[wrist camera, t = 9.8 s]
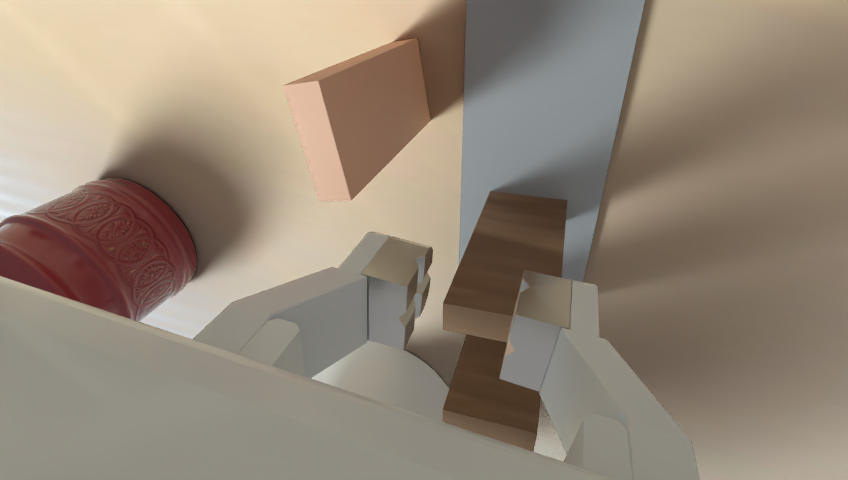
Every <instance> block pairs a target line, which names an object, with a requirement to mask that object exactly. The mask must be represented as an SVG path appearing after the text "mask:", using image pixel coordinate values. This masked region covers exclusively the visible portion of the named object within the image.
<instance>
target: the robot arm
mask: <svg viewBox="0 0 848 480" xmlns="http://www.w3.org/2000/svg"><path fill="white" fill-rule="evenodd" d="M432 255H433V250H432V247H431V246H427V245H423V244H419V243H415V242H411V241H408V240H404V239H400V238H396V237H390V236H388V235H384V234H380V233H376V232H369V233H367V234H366V235H365V236H364V238H363V239H362V240H361V241H360V242H359V244H358V245H357V246H356V247H355V248H354V250H353V251H352V252H351V253H350V254H349V256H348V257H347V258H346V259H345V260H344V262H343V263H342V264H341V265H340V266H339V268H334V267H331V268H328V269H325V270H322V271H319V272H316V273H314V274H311V275H308V276H305V277H302V278H299V279H297V280H294V281H291V282H288V283H285V284H282V285H280V286H277V287H274V288H271V289H268V290H265V291H262V292H260V293H257V294H254V295H251V296H248V297H245V298H243V299H240V300H237V301H234V302H232V303H231V304H230V305H228V306H227V307H226V308H225V309H224V310H223V311H222V312H221V313H220V314H219V315H218V316H217V317H216V318H215V319H214V320H213V321H211V322H210V323H209V324H208V325H207V326H206V327H205V328H204V329H203V330H202V331H201V332H200V333H199V334H198V335H197V336H196V337H194V338H193V339H190V338H187V337H183V336H180V335H177V334H174V333H171V332H168V331H165V330H162V329H159V328H156V327H153V326H150V325H147V324H144V323H141V322H138V321H135V320H132V319H129V318H126V317H123V316H120V315H117V314H114V313H111V312H108V311H105V310H102V309H99V308H96V307H93V306H90V305H86V304H83V303H80V302H77V301H74V300H71V299H68V298H65V297H62V296H59V295H56V294H53V293H50V292H47V291H44V290H41V289H38V288H35V287H32V286H29V285H26V284H23V283H20V282H17V281H14V280H11V279H8V278H5V277H2V276H0V480H700V478H699V474H698V469H697V464H696V460H695V455H694V451H693V446H692V441H691V440H690V439H689V437H688V436H687V435H686V434H685V433H684V431H683V430H682V429H681V428H680V427H679V425H678V424H677V423H676V422H675V421H674V419H673V418H672V417H671V416H670V415H669V413H668V412H667V411H666V410H665V409H664V407H663V406H662V405H661V404H660V403H659V401H658V400H657V399H656V398H655V397H654V395H653V394H652V393H651V392H650V391H649V389H648V388H647V387H646V386H645V385H644V383H643V382H642V381H641V380H640V379H639V377H638V376H637V375H636V374H635V373H634V371H633V370H632V369H631V368H630V367H629V365H628V364H627V363H626V362H625V361H624V359H623V358H622V357H621V356H620V355H619V353H618V352H617V351H616V350H615V349H614V347H613V346H612V345H611V344H610V343H609V341H608V340H607V339H603V338H600V337H599V310H598V287H597V286H596V285H595V284H590V283H586V282H581V281H576V280H569V279H564V278H560V277H555V276H551V275H547V274H542V273H538V272H533V271H529V270H524V273H523V277H522V281H521V285H520V289H519V294H518V298H517V301H516V306H515V310H514V314H513V318H512V322H511V326H510V331H509V335H508V341H507V346H506V350H505V354H504V358H503V363H502V368H501V373H500V378H499V379H502V380H505V381H508V382H511V383H514V384H517V385H520V386H523V387H526V388H529V389H533V390H536V391H539V392H540V393H539V394H540V397H541V399H542V401H543V403H544V405H545V407H546V410H547V412H548V414H549V416H550V418H551V421H552V423H553V425H554V427H555V429H556V431H557V434H558V436H559V438H560V440H561V442H562V445H563V447H564V449H565V451H566V453H567V456H566V458H565V460H564V462H562V461H559V460H556V459H553V458H550V457H547V456H544V455H541V454H538V453H535V452H532V451H529V450H526V449H523V448H520V447H517V446H514V445H511V444H508V443H505V442H502V441H499V440H496V439H493V438H490V437H487V436H484V435H481V434H478V433H475V432H472V431H469V430H466V429H463V428H460V427H457V426H454V425H451V424H448V423H444V422H443V407H444V404H445V401H446V398H447V395H448V391H449V388H448V386H447V385H446V384H445V383H444V381H443V380H442V379H441V378H440V376H439V375H438V374H437V373H436V372H435V371H434V370H433V369H432V368H431V367H430V366H428V365H427V364H426V363H425V362H423V361H422V360H420V359H419V358H417V357H416V356H414V355H412V354H411V353H409V352H407V351H405V350H404V348H405V346H406V344H407V342H408V340H409V338H410V336H411V334H412V332H413V330H414V320H415V318H417V317H419V316H420V315H421V313H422V311H423V309H424V306H425V303H426V300H427V296H428V292H429V287H430V276H429V275H428V273H427V271H428V269H429V267H430V265H431V263H432Z"/></svg>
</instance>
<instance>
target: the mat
mask: <svg viewBox="0 0 848 480" xmlns="http://www.w3.org/2000/svg"><path fill="white" fill-rule="evenodd" d="M644 4H645V0H466V35H465V70H464V106H463V141H462V176H461V212H460V247H459V264H460V262H461V259H462V257H463V255H464V252H465V250H466V248H467V245H468V243H469V240H470V238H471V236H472V233H473V231H474V229H475V226H476V224H477V221H478V219H479V217H480V214H481V212H482V209H483V207H484V205H485V202H486V200H487V198H488V195H489V193H490V191H492V192H501V193H510V194H518V195H527V196H536V197H545V198H554V199H562V200H567V212H566V225H565V239H564V252H563V266H562V278H564V279H569V280H576V281H581V282H583V281H584V276H585V271H586V267H587V262H588V258H589V253H590V249H591V244H592V240H593V235H594V231H595V226H596V222H597V217H598V212H599V208H600V203H601V199H602V194H603V190H604V185H605V181H606V176H607V172H608V167H609V162H610V158H611V153H612V149H613V144H614V140H615V135H616V131H617V126H618V122H619V117H620V113H621V108H622V103H623V99H624V94H625V90H626V85H627V81H628V76H629V72H630V67H631V63H632V58H633V53H634V49H635V44H636V40H637V35H638V31H639V26H640V22H641V17H642V13H643V8H644Z"/></svg>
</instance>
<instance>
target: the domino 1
mask: <svg viewBox="0 0 848 480" xmlns="http://www.w3.org/2000/svg"><path fill="white" fill-rule="evenodd" d="M283 87H284V90H285V93H286V96H287V100H288V103H289V106H290V109H291V112H292V115H293V119H294V122H295V125H296V128H297V131H298V135H299V138H300V141H301V144H302V147H303V150H304V154H305V157H306V160H307V163H308V166H309V169H310V173H311V176H312V179H313V182H314V185H315V188H316V192H317V195H318V198H319V201H350V200H352V199H353V198H354V197H355V196H356V195H357V194H358V193H359V192H360V191H361V190H362V189H363V188H364V187H365V186H366V185H367V184H368V183H369V182H370V181H371V180H372V179H373V178H374V177H375V176H376V175H377V174H378V173H379V172H380V171H381V170H382V169H383V168H384V167H385V166H386V165H387V164H388V163H389V162H390V161H391V160H392V159H393V158H394V157H395V156H396V155H397V154H398V153H399V152H400V151H401V150H402V149H403V148H404V147H405V146H406V145H407V144H408V143H409V142H410V141H411V140H412V139H413V138H414V137H415V136H416V135H417V134H418V133H419V132H420V131H421V130H422V129H423V128H424V127H425V126H426V125H427V124H428V123H429V122H430V121H431V120H430V114H429V108H428V101H427V95H426V89H425V83H424V77H423V70H422V64H421V58H420V52H419V46H418V39H417V38H414V39H407V40H401V41H395V42H391V43H389V44H386V45H384V46H381V47H379V48H376V49H374V50H371V51H369V52H366V53H364V54H361V55H359V56H356V57H354V58H351V59H349V60H346V61H344V62H341V63H339V64H336V65H333V66H331V67H328V68H326V69H323V70H321V71H318V72H316V73H313V74H311V75H308V76H306V77H303V78H301V79H298V80H296V81H293V82H291V83H288V84H286V85H283Z"/></svg>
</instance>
